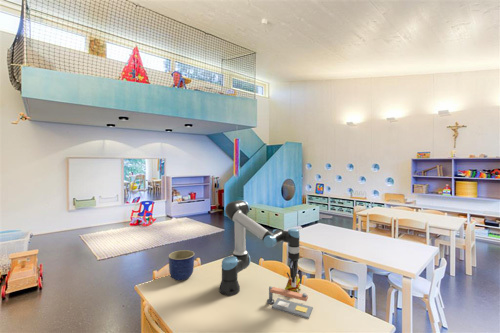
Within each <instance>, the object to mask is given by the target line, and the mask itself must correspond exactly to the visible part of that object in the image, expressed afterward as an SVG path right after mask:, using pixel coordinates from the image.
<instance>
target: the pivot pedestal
mask: <svg viewBox="0 0 500 333" xmlns="http://www.w3.org/2000/svg"><path fill="white" fill-rule="evenodd" d="M266 303H267V305H270V306H272V305H273V304H274V303H275V300H274V298H272V301H269V298H267V300H266Z"/></svg>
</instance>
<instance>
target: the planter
mask: <svg viewBox="0 0 500 333" xmlns="http://www.w3.org/2000/svg"><path fill="white" fill-rule="evenodd" d="M195 255H196V254H195V252H194V251H192V250H187V249H182V250H176V251H172V252H171V253H169V254H168V268H169V269H168V271H169V276H170V277H171V278H172V279H173V280H175V281H178V282H179V281H180V282H181V281H185V280H188V279H190V277H191V276H193V272H194V269H195V266H194V264H195Z"/></svg>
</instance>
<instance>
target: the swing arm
mask: <svg viewBox="0 0 500 333" xmlns="http://www.w3.org/2000/svg"><path fill="white" fill-rule="evenodd" d="M297 292H298V291H297ZM297 292H296V291H289V290H288V289H286V290H285V288H280V287H276V286H268V299H269V301H272V299H274V298H273V294H276V295H278V296H279V295H280V296H283V297H288V298H292V299H295V300H300V301H303V302H307V301H308V299H309V296H308V295H309V294H307V293H304V292H303V293H301V292H299V293H297Z"/></svg>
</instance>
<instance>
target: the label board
mask: <svg viewBox="0 0 500 333" xmlns="http://www.w3.org/2000/svg"><path fill="white" fill-rule="evenodd" d="M271 309H273V310H277V311H279V312H284V313H287V314H291V315H294V316H297V317H300V318H304V319H310V317H311V314H312V312H313V311H314V310H313V309H314V307H313V306H310V305H307V304H302V303H299V302H295V301H291V300H288V299H287V300H286V299H283V298H280V297H277V299H276V300H274V304H272V305H271Z"/></svg>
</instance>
